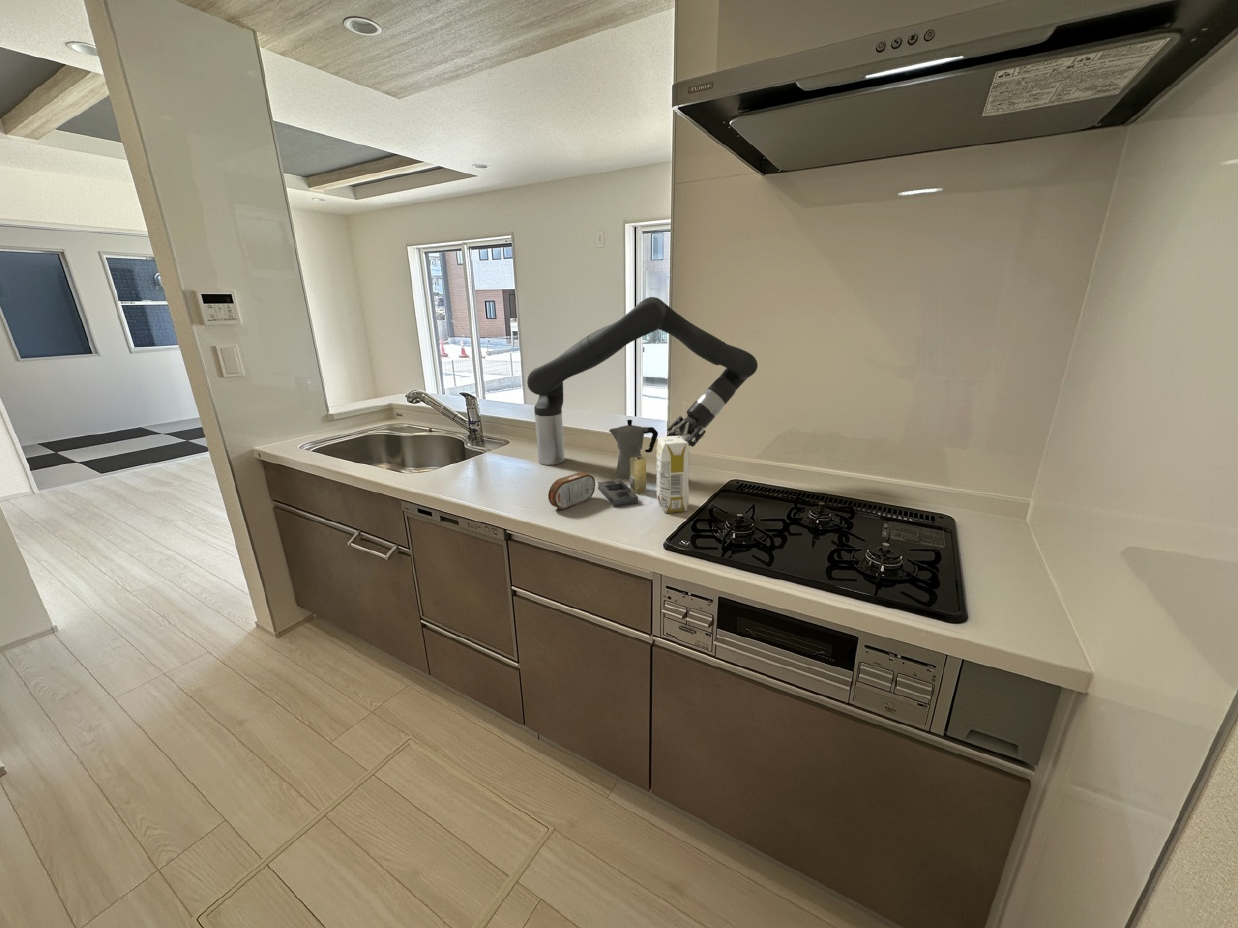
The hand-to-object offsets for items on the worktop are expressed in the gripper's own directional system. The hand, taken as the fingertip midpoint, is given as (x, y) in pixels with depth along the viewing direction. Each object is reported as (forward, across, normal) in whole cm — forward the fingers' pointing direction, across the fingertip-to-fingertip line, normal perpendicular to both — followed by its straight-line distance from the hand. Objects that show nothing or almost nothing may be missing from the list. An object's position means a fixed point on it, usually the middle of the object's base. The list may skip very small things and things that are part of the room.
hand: (669, 449), depth 144 cm
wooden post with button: (+15, +2, +1) cm, 15 cm away
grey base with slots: (+20, +3, -4) cm, 21 cm away
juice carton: (+12, +16, +3) cm, 21 cm away
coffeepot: (+13, -12, +4) cm, 18 cm away
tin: (+30, +4, -13) cm, 33 cm away
